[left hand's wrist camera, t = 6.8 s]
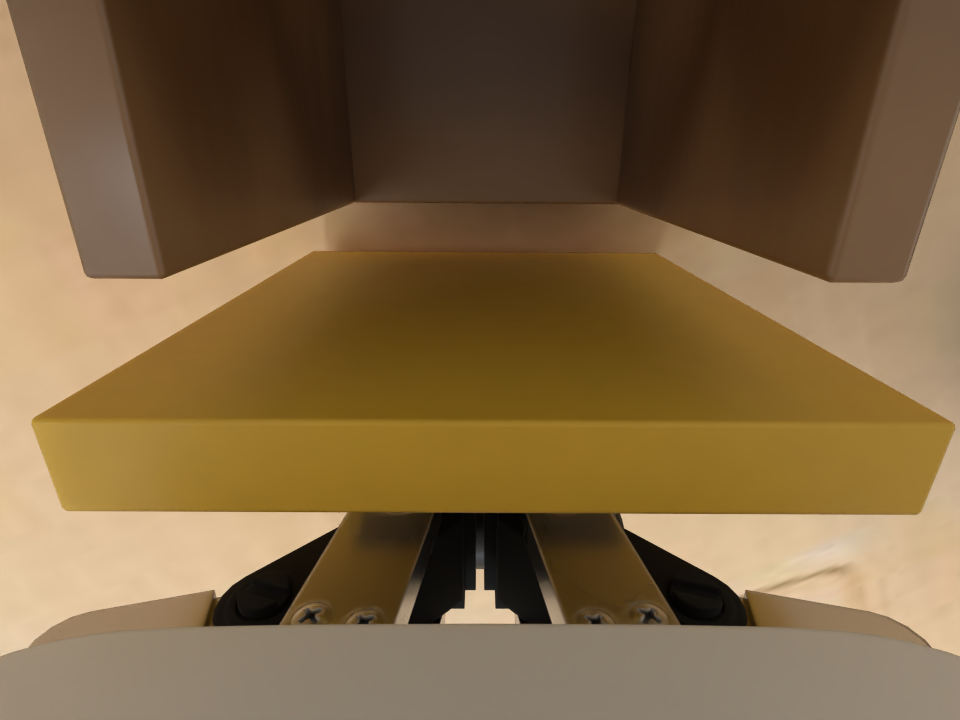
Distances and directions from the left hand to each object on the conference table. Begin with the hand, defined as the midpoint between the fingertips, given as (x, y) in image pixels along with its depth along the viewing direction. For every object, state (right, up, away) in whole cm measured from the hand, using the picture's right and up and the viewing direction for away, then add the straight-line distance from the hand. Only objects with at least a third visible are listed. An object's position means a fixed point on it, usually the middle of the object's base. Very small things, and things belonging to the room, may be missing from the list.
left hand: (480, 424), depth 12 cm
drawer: (0, +10, 0) cm, 10 cm away
